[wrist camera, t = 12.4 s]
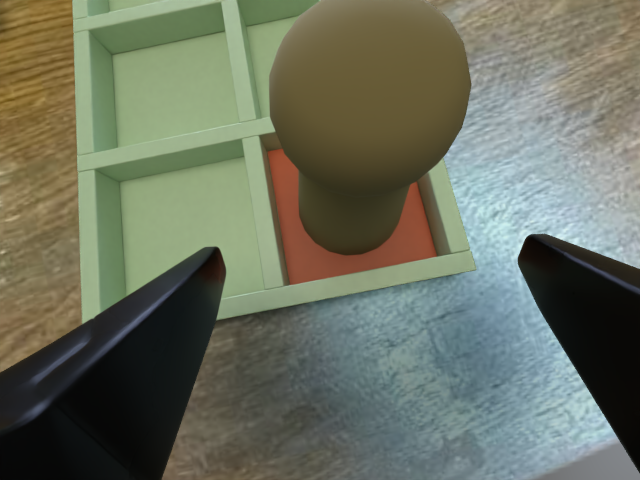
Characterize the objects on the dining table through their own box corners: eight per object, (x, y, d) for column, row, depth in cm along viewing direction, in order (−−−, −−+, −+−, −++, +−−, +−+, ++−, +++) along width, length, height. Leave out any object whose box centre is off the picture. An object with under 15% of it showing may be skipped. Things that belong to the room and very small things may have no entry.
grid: (456, 273, 17) (477, 269, 14) (117, 339, 17) (81, 346, 15) (326, -192, 24) (325, -245, 22) (92, -140, 24) (66, -186, 22)
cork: (292, 250, 17) (213, 170, 6) (303, 153, 18) (253, -65, 7) (399, 260, 16) (524, 192, 5) (403, 160, 17) (516, -63, 7)
